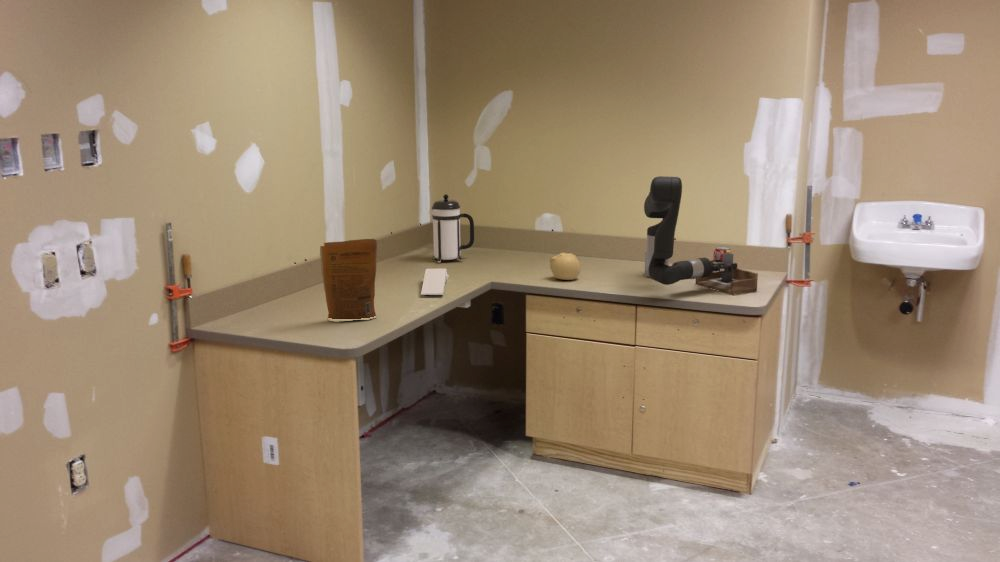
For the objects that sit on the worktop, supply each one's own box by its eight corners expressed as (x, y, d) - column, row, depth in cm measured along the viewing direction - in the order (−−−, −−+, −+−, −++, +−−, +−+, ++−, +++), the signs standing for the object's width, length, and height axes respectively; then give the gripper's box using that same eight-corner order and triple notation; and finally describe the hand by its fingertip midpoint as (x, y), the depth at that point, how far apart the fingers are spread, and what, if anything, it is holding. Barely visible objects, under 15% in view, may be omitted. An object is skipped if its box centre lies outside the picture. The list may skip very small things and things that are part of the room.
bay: (695, 284, 350) (696, 266, 349) (718, 280, 356) (719, 263, 354) (733, 295, 332) (733, 276, 331) (756, 291, 338) (757, 273, 336)
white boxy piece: (443, 312, 335) (446, 285, 361) (447, 294, 333) (450, 269, 359) (417, 306, 334) (422, 280, 360) (421, 288, 332) (426, 263, 358)
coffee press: (452, 265, 390) (451, 197, 383) (424, 261, 398) (422, 195, 392) (475, 258, 404) (474, 193, 397) (447, 255, 413) (445, 191, 406)
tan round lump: (570, 274, 370) (570, 249, 367) (585, 280, 359) (585, 254, 357) (546, 277, 365) (546, 251, 362) (560, 283, 354) (560, 256, 352)
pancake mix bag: (381, 321, 301) (377, 239, 294) (323, 324, 297) (319, 242, 291) (380, 316, 307) (376, 236, 301) (323, 319, 304) (319, 238, 297)
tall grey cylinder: (719, 284, 345) (720, 250, 342) (726, 283, 347) (728, 249, 344) (726, 286, 341) (727, 251, 338) (734, 285, 343) (735, 250, 340)
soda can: (730, 278, 360) (732, 249, 357) (712, 278, 361) (714, 249, 358) (730, 275, 366) (731, 246, 364) (712, 274, 368) (713, 245, 365)
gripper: (709, 262, 328) (742, 257, 336) (684, 255, 340) (716, 251, 348) (708, 281, 330) (741, 276, 337) (683, 274, 342) (715, 270, 350)
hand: (728, 264), depth 343 cm, fingers open, 8 cm apart
